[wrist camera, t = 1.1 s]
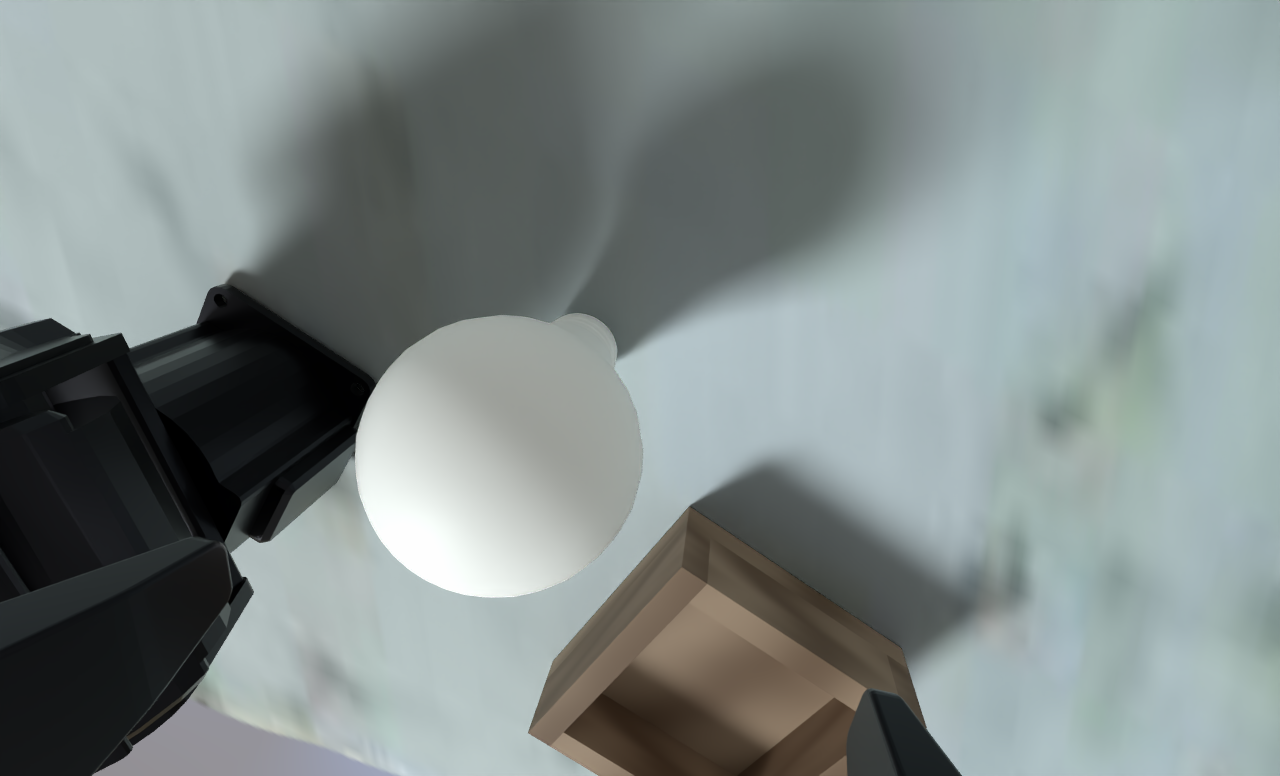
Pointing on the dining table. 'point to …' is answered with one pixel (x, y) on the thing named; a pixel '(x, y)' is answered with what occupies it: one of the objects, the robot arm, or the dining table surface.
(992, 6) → the dining table surface
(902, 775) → the robot arm
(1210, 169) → the dining table surface
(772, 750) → the brown square tray
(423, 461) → the lightbulb
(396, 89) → the dining table surface
